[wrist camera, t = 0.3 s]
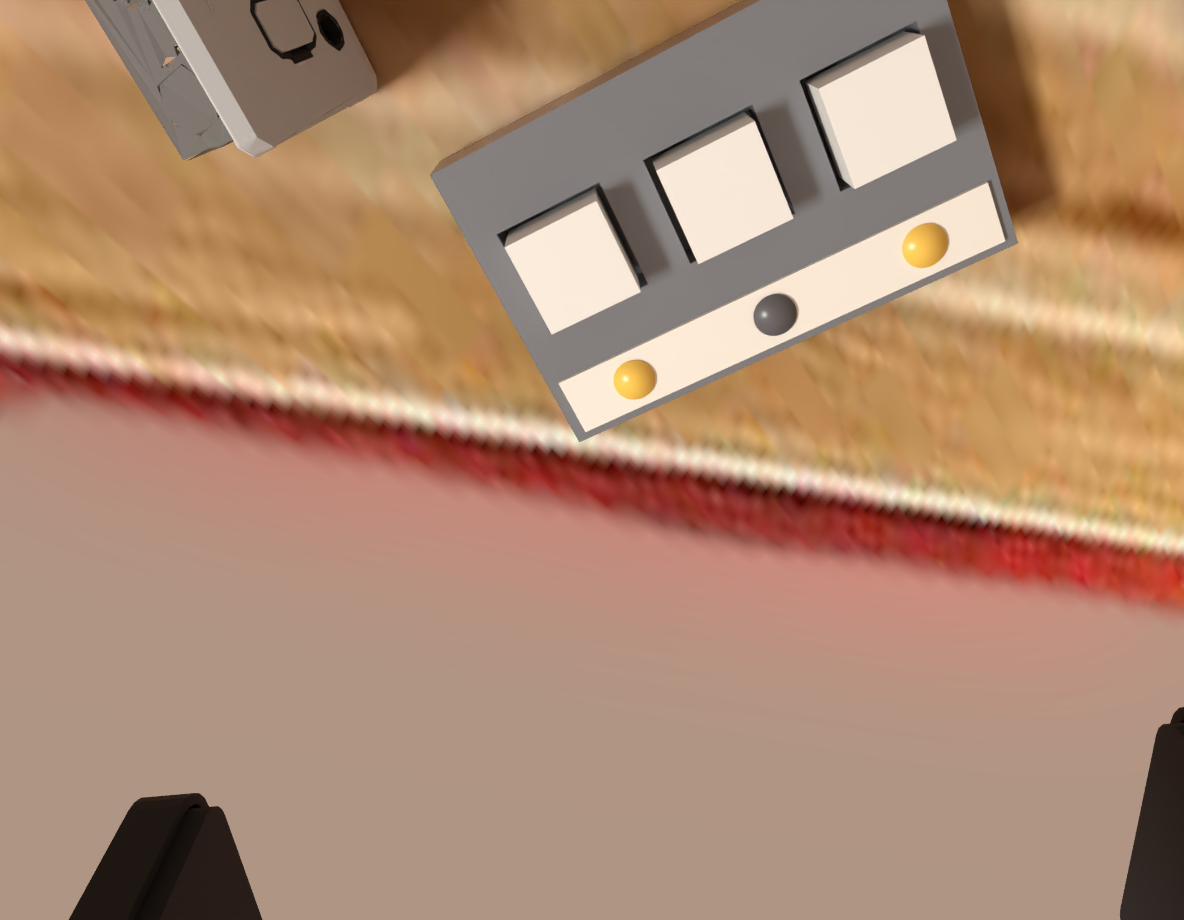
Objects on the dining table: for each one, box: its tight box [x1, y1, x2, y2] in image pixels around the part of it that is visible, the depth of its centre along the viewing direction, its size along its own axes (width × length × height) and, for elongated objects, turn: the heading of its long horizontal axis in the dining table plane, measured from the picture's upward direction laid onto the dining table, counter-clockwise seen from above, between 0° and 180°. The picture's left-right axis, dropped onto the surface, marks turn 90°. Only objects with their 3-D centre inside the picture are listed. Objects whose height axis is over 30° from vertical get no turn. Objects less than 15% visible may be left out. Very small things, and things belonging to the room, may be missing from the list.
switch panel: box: [430, 0, 1018, 442], centre depth 39 cm, size 13×20×3 cm, turn 116°
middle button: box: [651, 112, 793, 264], centre depth 38 cm, size 4×4×2 cm
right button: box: [804, 31, 957, 189], centre depth 36 cm, size 4×4×2 cm
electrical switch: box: [85, 0, 377, 160], centre depth 34 cm, size 9×5×9 cm, turn 24°
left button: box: [504, 188, 641, 334], centre depth 39 cm, size 4×4×2 cm
